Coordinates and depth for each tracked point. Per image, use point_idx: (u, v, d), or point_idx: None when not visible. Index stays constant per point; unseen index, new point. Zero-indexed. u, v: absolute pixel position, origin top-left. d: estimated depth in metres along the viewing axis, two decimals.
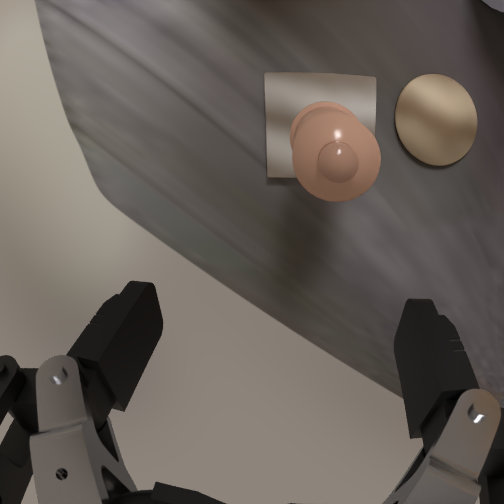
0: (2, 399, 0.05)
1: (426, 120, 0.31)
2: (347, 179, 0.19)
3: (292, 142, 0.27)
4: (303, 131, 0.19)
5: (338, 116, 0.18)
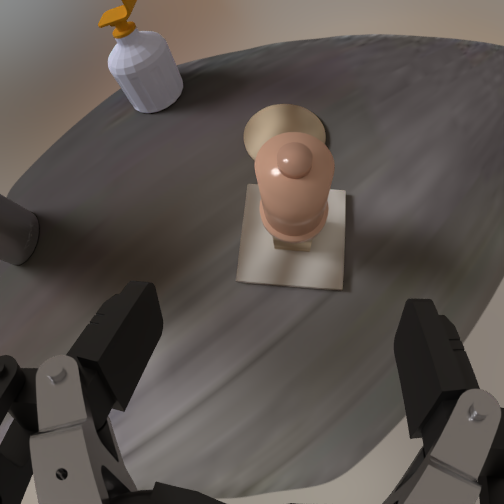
0: (2, 399, 0.05)
1: None
2: (309, 150, 0.21)
3: (296, 238, 0.29)
4: (267, 189, 0.22)
5: (255, 162, 0.23)
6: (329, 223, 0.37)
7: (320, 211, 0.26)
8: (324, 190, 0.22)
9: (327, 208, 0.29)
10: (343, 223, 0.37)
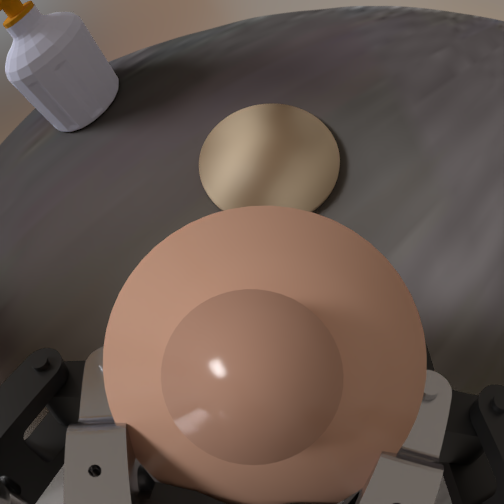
0: (39, 396, 0.06)
1: (270, 175, 0.24)
2: (327, 343, 0.04)
3: None
4: (150, 469, 0.05)
5: (107, 349, 0.05)
6: None
7: None
8: None
9: None
10: None
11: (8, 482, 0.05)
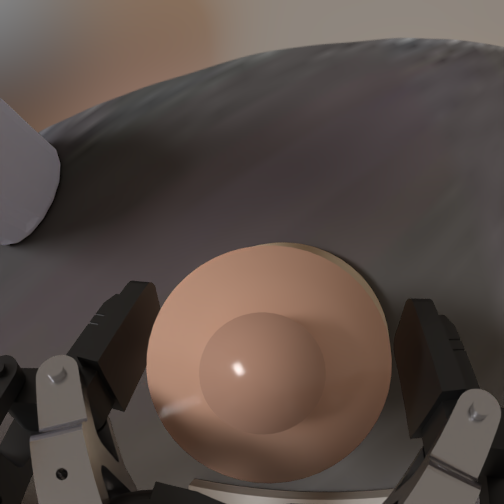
0: (2, 400, 0.05)
1: None
2: (314, 349, 0.06)
3: None
4: (183, 445, 0.06)
5: (149, 354, 0.07)
6: None
7: None
8: None
9: None
10: None
11: None
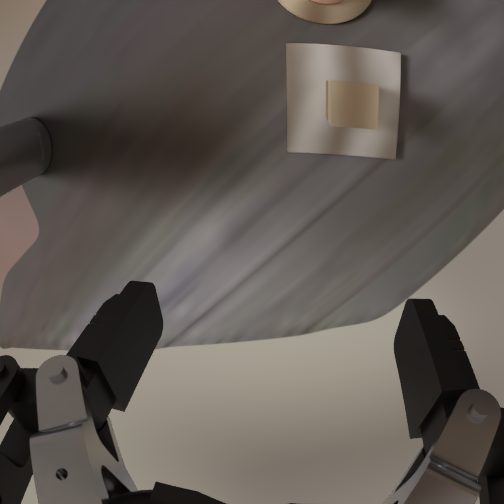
0: (2, 399, 0.05)
1: None
2: None
3: (329, 1, 0.24)
4: None
5: None
6: (383, 89, 0.29)
7: None
8: None
9: None
10: (398, 90, 0.28)
11: None
